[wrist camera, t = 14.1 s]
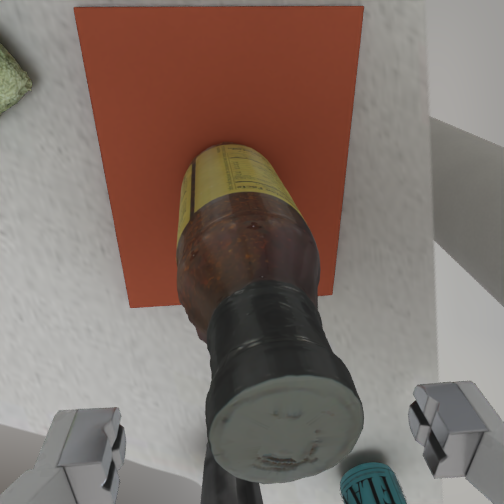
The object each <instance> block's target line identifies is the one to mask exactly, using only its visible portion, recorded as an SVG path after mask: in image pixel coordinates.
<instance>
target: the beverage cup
mask: <svg viewBox="0 0 504 504" xmlns="http://www.w3.org/2000/svg"><path fill="white" fill-rule="evenodd" d="M201 504H263V501H262V496H261V491H260V486H259V483H258V482H251V481H247V480H244V479H240V478H237V477H235V476H234V475H232V474H230V473H229V472H228V471H226V470H225V469H223V468H222V467H221V466H220V465H219V464H218V463H217V462H216V461H215V459H214V456H213V454H212V452H211V450H210V448H209V443H207V451H206V457H205V461H204V472H203V483H202V494H201Z"/></svg>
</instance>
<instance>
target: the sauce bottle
mask: <svg viewBox="0 0 504 504" xmlns="http://www.w3.org/2000/svg"><path fill="white" fill-rule="evenodd" d="M176 263H177V269H178V270H177V292H178V298H179V302H180V303H181V305H182V306H183V307H184V308H185V310H186V313H187V315H188V318H189V321H190V322H191V323H193V325H194V326H195V327H196V330H197V334H198V336H199V338H200V339H201V340H202V341H204V342H205V343H206V344H207V349H208V351H209V352H210V356H211V359H210V367H211V372H212V381H211V385H210V389H209V392H208V394H207V398H206V410H205V414H206V425H207V437H208V443H209V448H210V450H211V452H212V454H213V456H214V459H215V461H216V462H217V463H218V464H219V465H220V466H221V467H222V468H223V469H225V470H226V471H228V472H229V473H230V474H232V475H234V476H235V477H237V478H240V479H244V480H247V481H251V482H258V483H262V484H272V483H285V482H291V481H295V480H298V479H301V478H305V477H310V476H314V475H317V474H319V473H321V472H323V471H325V470H328V469H330V468H332V467H334V466H335V465H337V464H338V463H339V462H341V461H342V460H343V459H344V458H345V457H346V456H347V455H348V454H349V453H350V452H351V451H352V449H353V447H354V446H355V444H356V442H357V440H358V438H359V436H360V434H361V431H362V429H363V423H364V413H363V407H362V402H361V400H360V398H359V396H358V394H357V391H356V388H355V385H354V383H353V380H352V377H351V375H350V373H349V371H348V369H347V367H346V366H345V364H344V363H343V362H342V360H341V359H340V358H338V357H337V356H336V355H335V354H334V353H333V352H332V349H331V347H330V345H329V343H328V340H327V338H326V337H325V333H324V331H323V329H322V321H321V317H320V314H319V312H318V285H319V281H320V271H321V268H320V257H319V251H318V248H317V245H316V241H315V239H314V237H313V235H312V232H311V230H310V228H309V227H308V225H307V223H306V222H305V220H304V218H303V216H302V215H301V213H300V211H299V210H298V208H297V206H296V205H295V203H294V201H293V199H292V198H291V196H290V194H289V192H288V191H287V189H286V188H285V186H284V185H283V183H282V181H281V180H280V178H279V177H278V175H277V174H276V172H275V170H274V169H273V167H272V166H271V164H270V163H269V162H268V160H267V159H266V158H265V157H264V156H263V155H261V154H260V153H259V152H257V151H256V150H254V149H252V148H250V147H247V146H244V145H241V144H236V143H233V142H222V143H220V144H216V145H213V146H211V147H209V148H207V149H206V150H204V151H202V152H201V153H200V154H198V155H197V156H196V157H194V158H193V160H192V161H191V163H190V164H189V167H188V169H187V171H186V173H185V176H184V178H183V182H182V186H181V197H180V209H179V223H178V234H177V250H176Z"/></svg>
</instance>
